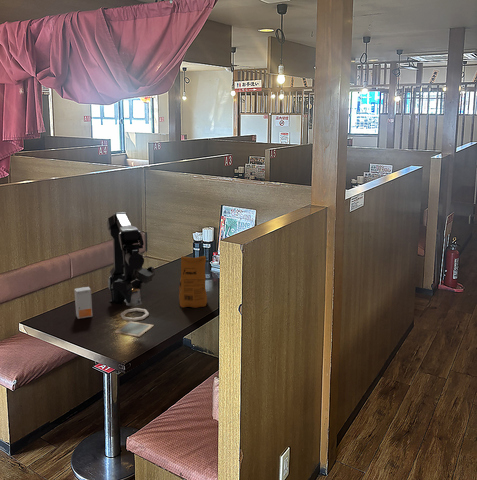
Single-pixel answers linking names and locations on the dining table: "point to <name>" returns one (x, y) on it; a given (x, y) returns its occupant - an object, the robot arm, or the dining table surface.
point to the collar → (136, 317)
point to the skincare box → (83, 302)
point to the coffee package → (192, 282)
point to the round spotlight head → (134, 297)
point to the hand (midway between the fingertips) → (133, 300)
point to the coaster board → (134, 329)
